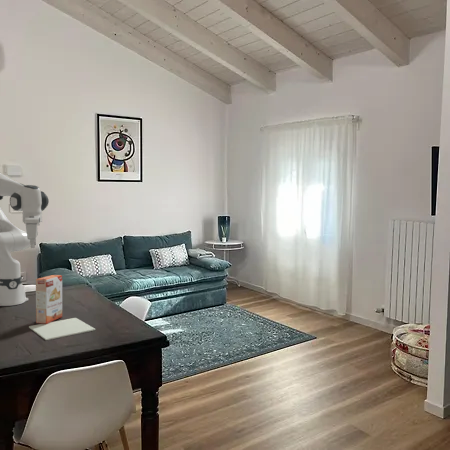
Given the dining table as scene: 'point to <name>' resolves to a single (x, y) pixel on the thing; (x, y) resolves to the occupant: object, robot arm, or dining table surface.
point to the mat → (61, 328)
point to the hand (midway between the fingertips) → (33, 246)
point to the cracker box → (48, 299)
